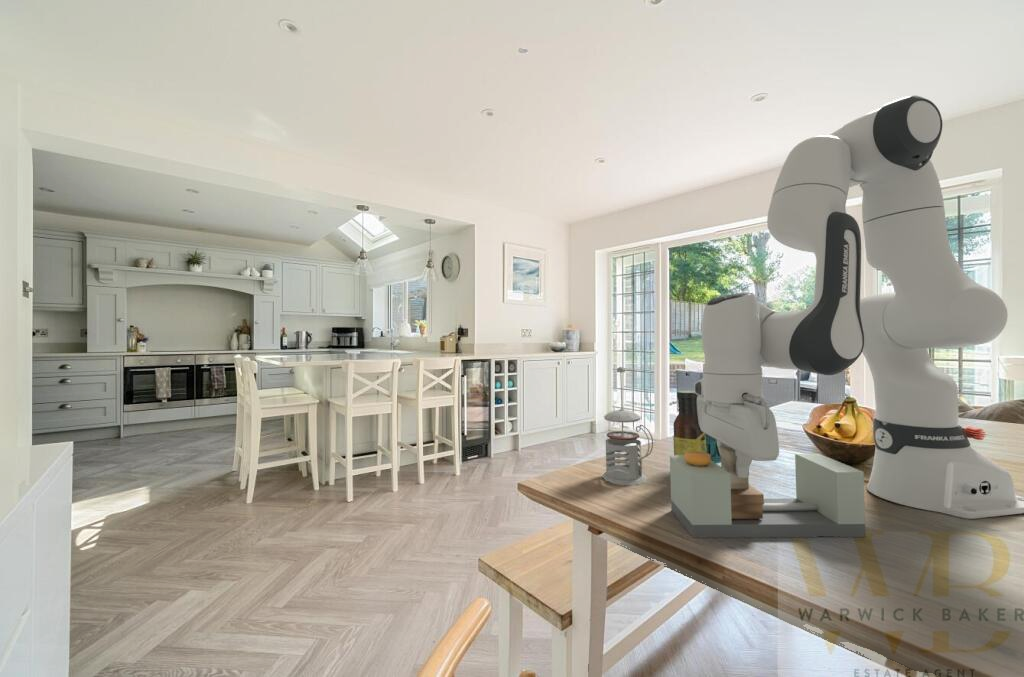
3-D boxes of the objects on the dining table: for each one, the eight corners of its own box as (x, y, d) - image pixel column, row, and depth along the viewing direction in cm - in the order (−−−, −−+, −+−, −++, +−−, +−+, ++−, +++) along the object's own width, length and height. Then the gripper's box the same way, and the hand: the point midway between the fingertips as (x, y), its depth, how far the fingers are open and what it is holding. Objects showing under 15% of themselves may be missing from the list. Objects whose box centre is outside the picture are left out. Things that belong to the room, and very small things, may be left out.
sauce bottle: (711, 492, 82) (708, 393, 82) (678, 491, 83) (675, 393, 83) (702, 481, 88) (700, 389, 88) (672, 480, 89) (669, 389, 89)
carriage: (738, 499, 72) (737, 443, 72) (764, 519, 64) (762, 456, 64) (710, 499, 73) (708, 443, 73) (731, 519, 65) (729, 456, 65)
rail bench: (819, 509, 73) (818, 453, 73) (865, 536, 63) (863, 472, 63) (671, 510, 74) (669, 455, 74) (692, 537, 64) (691, 474, 64)
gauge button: (705, 486, 71) (704, 450, 71) (715, 495, 67) (714, 457, 67) (682, 486, 71) (681, 451, 71) (691, 495, 67) (689, 458, 67)
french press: (615, 467, 99) (612, 364, 99) (662, 478, 91) (659, 366, 91) (593, 478, 92) (590, 367, 92) (641, 491, 84) (638, 369, 84)
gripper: (790, 398, 58) (793, 495, 58) (723, 382, 78) (725, 454, 78) (744, 399, 58) (747, 495, 58) (690, 383, 79) (692, 454, 79)
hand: (734, 471), depth 69 cm, fingers closed on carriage, 3 cm apart
